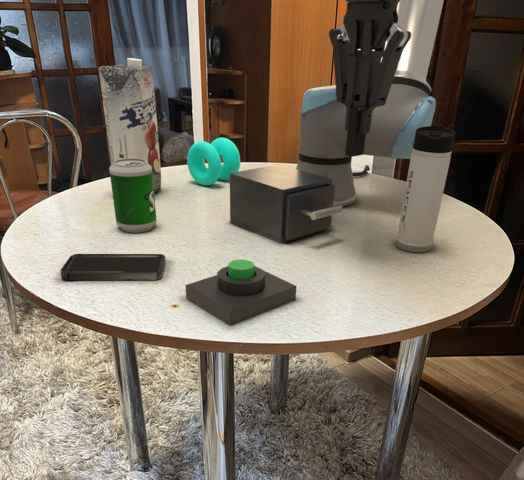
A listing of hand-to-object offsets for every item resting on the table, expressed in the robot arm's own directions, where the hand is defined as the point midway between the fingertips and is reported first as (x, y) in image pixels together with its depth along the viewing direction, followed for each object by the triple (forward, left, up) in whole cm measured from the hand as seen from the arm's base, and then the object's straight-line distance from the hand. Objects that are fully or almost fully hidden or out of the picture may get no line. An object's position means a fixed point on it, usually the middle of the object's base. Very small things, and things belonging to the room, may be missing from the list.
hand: (354, 154), depth 80 cm
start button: (+25, +3, -13) cm, 29 cm away
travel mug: (-13, +6, -17) cm, 22 cm away
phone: (+34, -17, -16) cm, 42 cm away
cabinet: (-1, -17, -16) cm, 24 cm away
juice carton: (+9, -53, -17) cm, 56 cm away
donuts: (-11, -51, -17) cm, 55 cm away
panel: (+25, +3, -16) cm, 30 cm away
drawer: (-1, -13, -15) cm, 20 cm away
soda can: (+21, -33, -17) cm, 43 cm away
